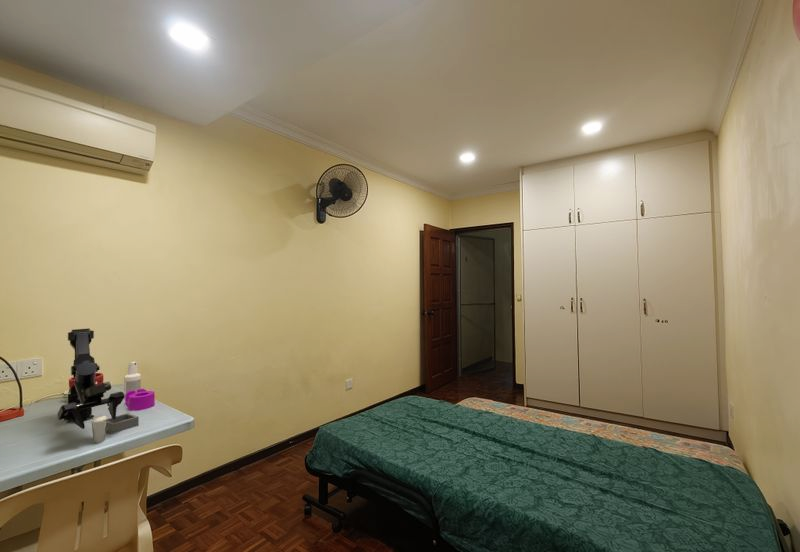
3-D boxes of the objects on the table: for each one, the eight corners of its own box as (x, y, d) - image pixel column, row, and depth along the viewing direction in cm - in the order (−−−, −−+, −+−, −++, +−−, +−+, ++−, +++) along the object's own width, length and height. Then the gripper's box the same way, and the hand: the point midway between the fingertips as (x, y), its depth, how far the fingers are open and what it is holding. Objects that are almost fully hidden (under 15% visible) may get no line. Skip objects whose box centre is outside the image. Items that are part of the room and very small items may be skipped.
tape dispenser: (157, 406, 166) (157, 393, 167) (131, 412, 159) (132, 399, 159) (147, 399, 177) (147, 387, 177) (123, 405, 169) (123, 392, 169)
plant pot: (82, 395, 183) (82, 373, 183) (109, 394, 185) (109, 372, 185) (61, 404, 170) (61, 379, 170) (90, 403, 172) (90, 378, 172)
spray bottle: (131, 399, 177) (131, 363, 177) (120, 398, 178) (120, 363, 178) (143, 395, 183) (144, 361, 184) (133, 394, 185) (133, 360, 185)
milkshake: (95, 438, 132) (95, 412, 132) (110, 438, 132) (110, 411, 132) (85, 444, 127) (85, 416, 127) (101, 443, 128) (101, 416, 128)
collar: (101, 429, 141) (101, 420, 141) (127, 421, 149) (127, 412, 149) (112, 433, 136) (112, 424, 136) (138, 425, 144) (138, 416, 144)
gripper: (61, 382, 124) (73, 419, 118) (122, 371, 140) (136, 403, 135) (52, 401, 128) (63, 438, 122) (113, 388, 144) (126, 419, 138)
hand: (99, 423), depth 129 cm, fingers open, 9 cm apart
